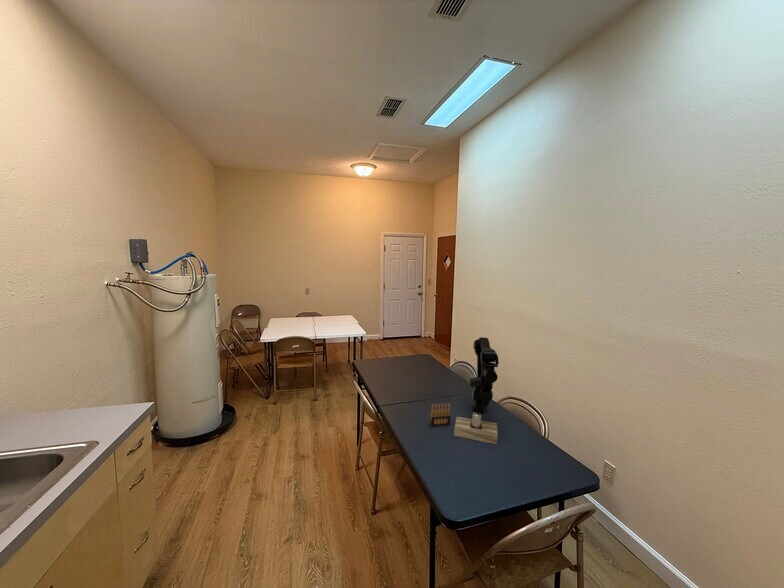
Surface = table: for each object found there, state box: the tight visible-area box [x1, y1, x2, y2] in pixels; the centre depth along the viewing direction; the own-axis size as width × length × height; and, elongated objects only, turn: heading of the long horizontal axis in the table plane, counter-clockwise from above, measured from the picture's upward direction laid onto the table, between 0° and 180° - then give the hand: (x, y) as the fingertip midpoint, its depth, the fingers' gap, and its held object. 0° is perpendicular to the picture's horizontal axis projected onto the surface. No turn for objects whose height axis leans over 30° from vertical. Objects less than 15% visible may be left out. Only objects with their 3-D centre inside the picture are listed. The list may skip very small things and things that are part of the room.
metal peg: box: [471, 412, 482, 429], centre depth 158 cm, size 4×4×10 cm
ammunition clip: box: [429, 402, 451, 428], centre depth 164 cm, size 11×2×12 cm, turn 100°
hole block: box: [453, 416, 499, 445], centre depth 158 cm, size 12×20×4 cm, turn 73°
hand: (485, 403), depth 163 cm, fingers open, 9 cm apart
